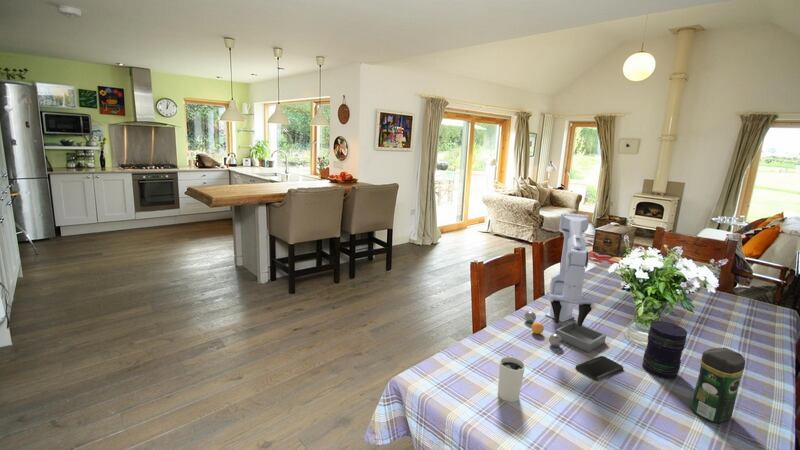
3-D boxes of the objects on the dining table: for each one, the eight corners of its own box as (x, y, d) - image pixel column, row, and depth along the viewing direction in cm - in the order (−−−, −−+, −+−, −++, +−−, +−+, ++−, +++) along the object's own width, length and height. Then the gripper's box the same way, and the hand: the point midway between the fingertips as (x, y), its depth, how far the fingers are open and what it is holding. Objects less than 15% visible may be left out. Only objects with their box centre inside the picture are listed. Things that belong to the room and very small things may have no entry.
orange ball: (534, 329, 149) (536, 318, 148) (545, 334, 146) (546, 323, 145) (528, 332, 147) (529, 321, 146) (538, 337, 143) (540, 326, 142)
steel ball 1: (527, 318, 158) (529, 308, 157) (537, 322, 155) (538, 312, 154) (521, 321, 156) (522, 311, 155) (531, 325, 152) (532, 315, 151)
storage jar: (660, 381, 120) (670, 337, 117) (634, 363, 129) (642, 322, 126) (685, 377, 123) (695, 334, 120) (657, 360, 132) (666, 319, 129)
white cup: (502, 384, 114) (506, 354, 112) (524, 394, 110) (528, 363, 108) (492, 395, 109) (495, 363, 107) (514, 406, 105) (519, 373, 103)
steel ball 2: (552, 341, 141) (554, 330, 140) (563, 346, 137) (565, 335, 136) (545, 345, 138) (547, 333, 137) (557, 350, 135) (559, 339, 134)
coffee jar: (703, 400, 112) (718, 341, 108) (736, 418, 105) (753, 356, 101) (683, 408, 108) (698, 347, 104) (715, 427, 101) (733, 363, 97)
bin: (571, 328, 152) (572, 321, 151) (604, 342, 142) (606, 334, 141) (554, 337, 144) (555, 329, 143) (588, 353, 134) (589, 344, 134)
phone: (625, 367, 125) (596, 379, 118) (624, 370, 126) (595, 382, 118) (602, 355, 132) (573, 365, 124) (601, 358, 132) (573, 369, 125)
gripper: (555, 285, 128) (549, 325, 129) (600, 290, 127) (594, 330, 128) (548, 280, 135) (543, 318, 136) (591, 285, 134) (586, 323, 135)
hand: (567, 323), depth 132 cm, fingers open, 7 cm apart
